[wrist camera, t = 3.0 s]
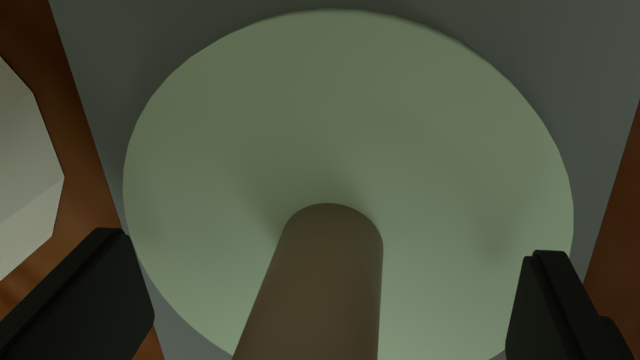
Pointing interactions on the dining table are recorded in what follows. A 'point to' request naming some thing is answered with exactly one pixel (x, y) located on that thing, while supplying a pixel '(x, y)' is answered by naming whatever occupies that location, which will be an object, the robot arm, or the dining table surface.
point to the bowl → (24, 174)
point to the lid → (343, 191)
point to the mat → (411, 3)
